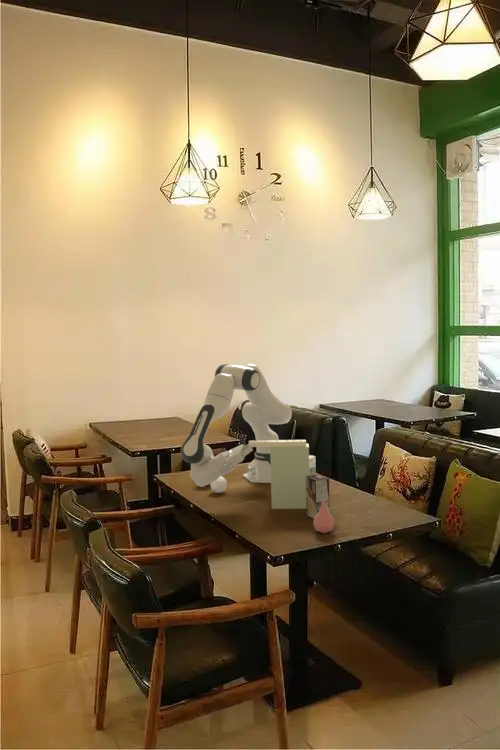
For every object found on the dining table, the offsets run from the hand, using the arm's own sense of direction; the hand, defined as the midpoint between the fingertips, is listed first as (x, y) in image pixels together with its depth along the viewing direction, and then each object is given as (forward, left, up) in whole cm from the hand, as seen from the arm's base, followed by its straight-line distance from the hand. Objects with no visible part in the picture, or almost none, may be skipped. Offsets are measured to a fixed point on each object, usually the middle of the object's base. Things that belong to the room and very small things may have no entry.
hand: (252, 446), depth 276 cm
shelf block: (+9, +13, -26) cm, 30 cm away
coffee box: (+27, +13, -26) cm, 40 cm away
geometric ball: (-29, -2, -26) cm, 39 cm away
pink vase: (+44, +3, -26) cm, 52 cm away
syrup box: (-13, +37, -26) cm, 47 cm away
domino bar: (+6, +8, 0) cm, 10 cm away
